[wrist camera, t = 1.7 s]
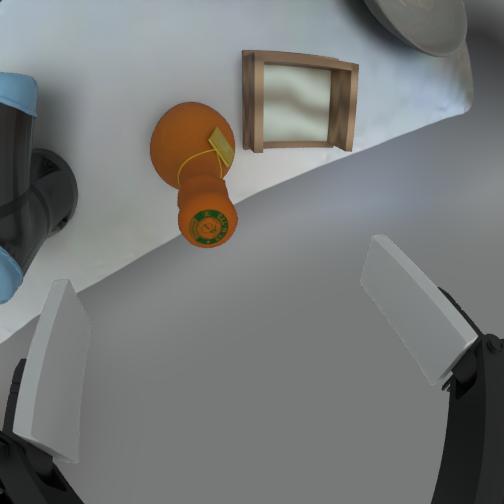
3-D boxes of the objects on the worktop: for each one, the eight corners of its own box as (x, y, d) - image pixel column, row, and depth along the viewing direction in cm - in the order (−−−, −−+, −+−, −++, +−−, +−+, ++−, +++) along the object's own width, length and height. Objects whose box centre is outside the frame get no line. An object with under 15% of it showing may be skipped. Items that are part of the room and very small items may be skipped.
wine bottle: (218, 162, 42) (281, 292, 19) (156, 162, 40) (130, 301, 16) (224, 101, 37) (313, 143, 13) (158, 100, 34) (110, 138, 11)
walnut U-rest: (331, 146, 45) (351, 157, 40) (243, 148, 42) (253, 160, 37) (336, 58, 36) (359, 58, 30) (242, 50, 33) (253, 45, 27)
